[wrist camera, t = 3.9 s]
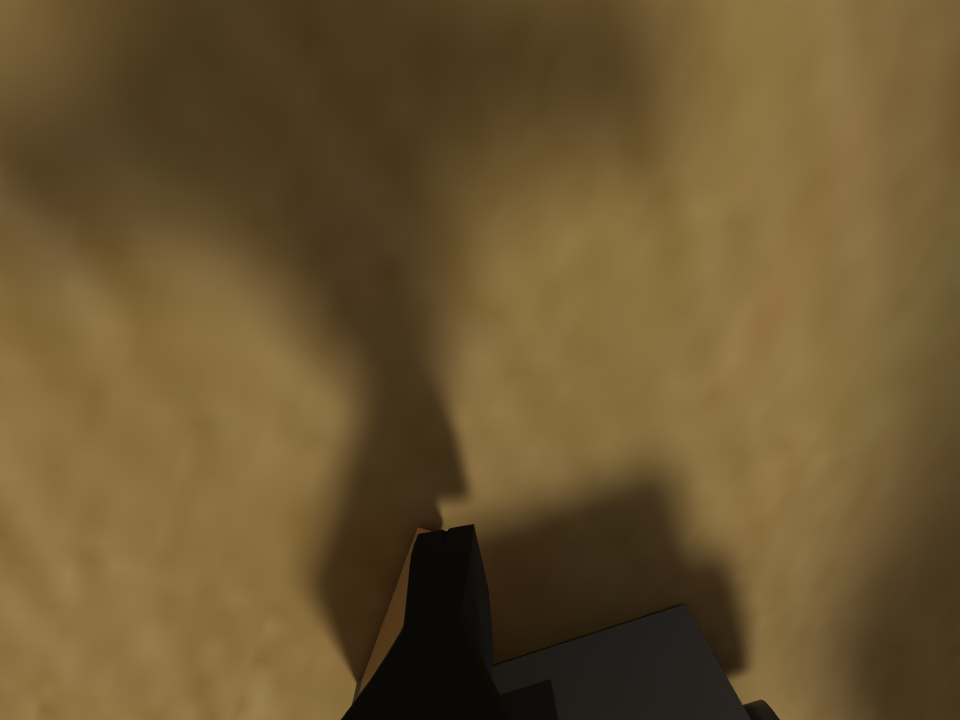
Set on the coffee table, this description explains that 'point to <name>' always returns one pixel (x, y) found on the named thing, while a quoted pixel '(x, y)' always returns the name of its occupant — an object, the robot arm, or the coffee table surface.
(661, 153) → the coffee table surface
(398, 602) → the side door
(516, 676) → the camera body
